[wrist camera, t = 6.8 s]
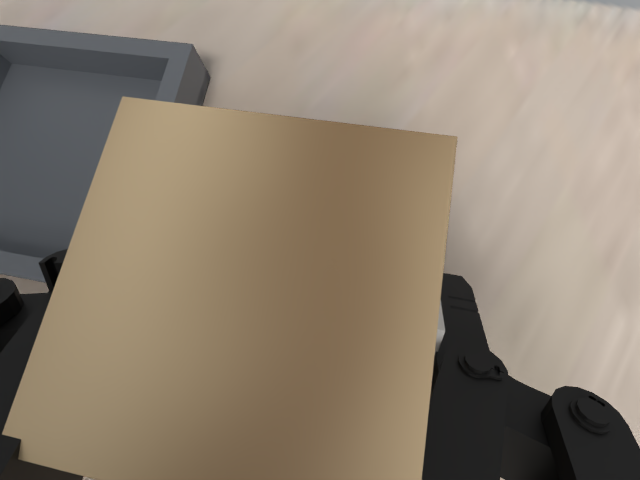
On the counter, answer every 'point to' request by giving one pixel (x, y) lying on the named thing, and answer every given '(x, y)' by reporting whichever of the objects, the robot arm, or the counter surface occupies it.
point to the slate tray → (70, 125)
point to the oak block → (244, 302)
